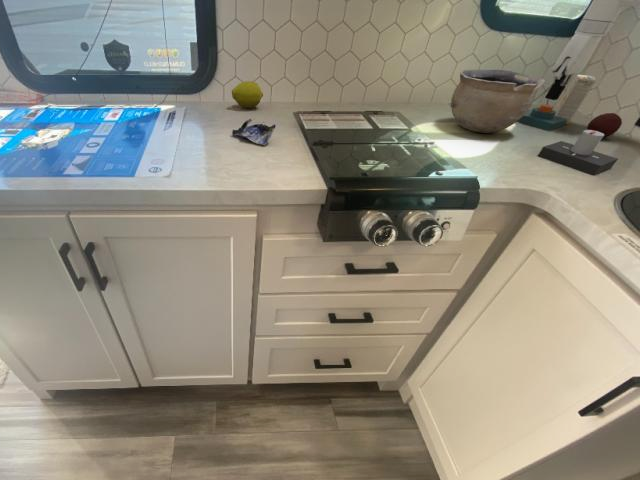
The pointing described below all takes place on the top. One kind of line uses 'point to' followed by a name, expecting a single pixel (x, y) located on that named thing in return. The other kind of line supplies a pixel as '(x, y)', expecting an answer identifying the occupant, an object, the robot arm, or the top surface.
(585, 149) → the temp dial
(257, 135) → the snack package
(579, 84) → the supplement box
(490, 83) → the ceramic bowl
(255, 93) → the lemon
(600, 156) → the dial base
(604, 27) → the robot arm
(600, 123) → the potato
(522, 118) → the block
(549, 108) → the button
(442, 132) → the top surface
